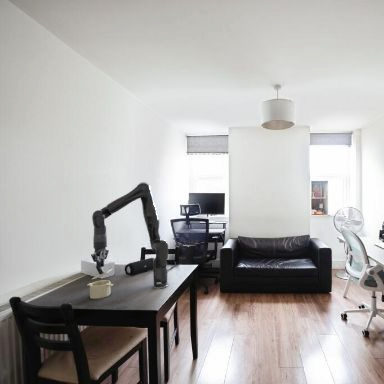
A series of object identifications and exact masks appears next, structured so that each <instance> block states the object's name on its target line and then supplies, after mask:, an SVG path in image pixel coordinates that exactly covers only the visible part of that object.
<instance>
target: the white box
mask: <svg viewBox="0 0 384 384" xmlns="http://www.w3.org/2000/svg"><path fill="white" fill-rule="evenodd" d="M95 260H96V259H95ZM98 260H99V259H98ZM101 268H102V270H103V272H105V271H107V270H110V269H112V270H111V271H110V272H108V273H107V274H105V275H103V276H101V277H99V278H98V279H101V280H103V279H105V278H108V277H109V278H110V277H112V276H115V261H112V260H107V259H105V260H104V266H103V267H101ZM80 273H81V274H84V275H88V276H90V277H93V278H94V277H96V276H98V275H99V272H98V271H97V269H96V262H94V261H93V259H92V257H89V258H84V259H80Z"/></svg>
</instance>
